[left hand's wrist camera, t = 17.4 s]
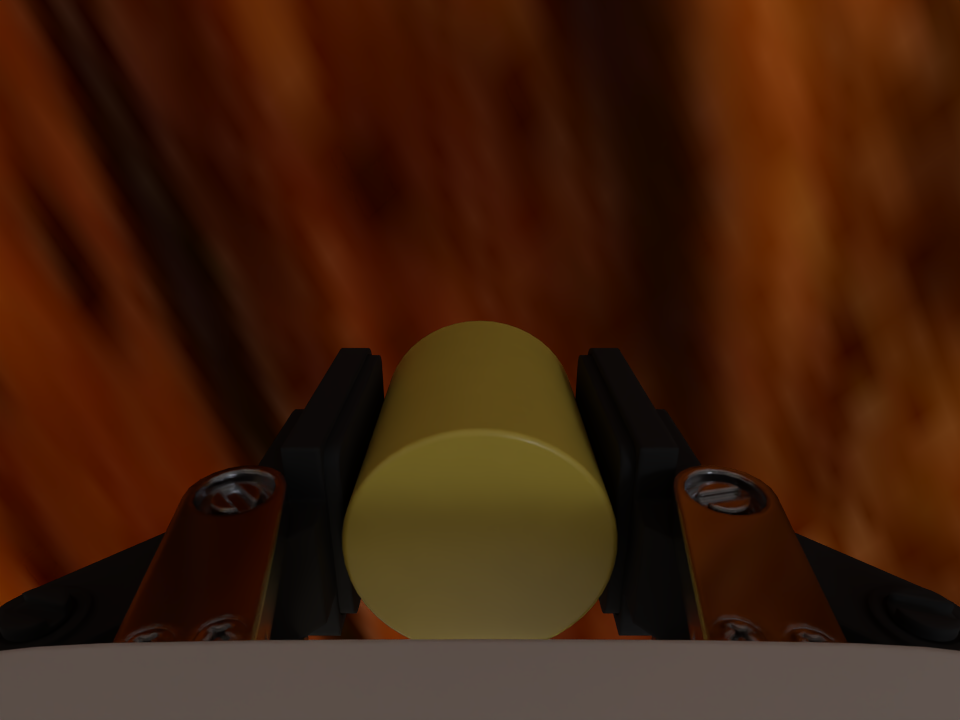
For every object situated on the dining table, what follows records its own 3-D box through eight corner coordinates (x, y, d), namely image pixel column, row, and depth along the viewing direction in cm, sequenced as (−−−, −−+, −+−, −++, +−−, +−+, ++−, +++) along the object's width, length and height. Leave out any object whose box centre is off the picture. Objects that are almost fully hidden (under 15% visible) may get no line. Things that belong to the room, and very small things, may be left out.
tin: (589, 332, 12) (649, 449, 8) (554, 494, 13) (588, 669, 9) (395, 307, 12) (347, 413, 7) (381, 475, 13) (334, 643, 9)
